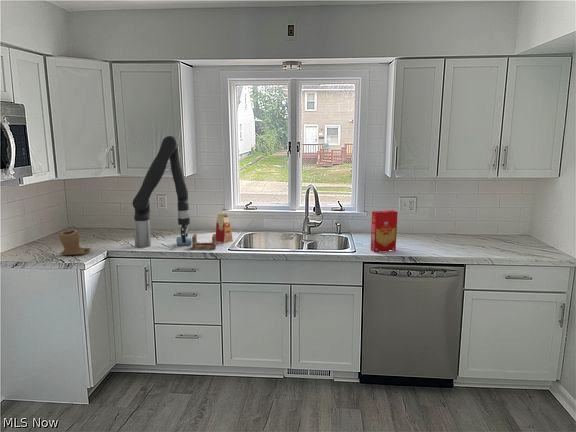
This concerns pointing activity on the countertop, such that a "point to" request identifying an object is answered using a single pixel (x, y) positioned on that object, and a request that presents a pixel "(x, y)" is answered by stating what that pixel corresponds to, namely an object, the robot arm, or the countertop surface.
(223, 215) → the milk carton
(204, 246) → the cradle
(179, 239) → the cylinder
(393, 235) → the food packaging
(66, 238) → the tan hollow boot-shaped piece
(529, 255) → the countertop surface
